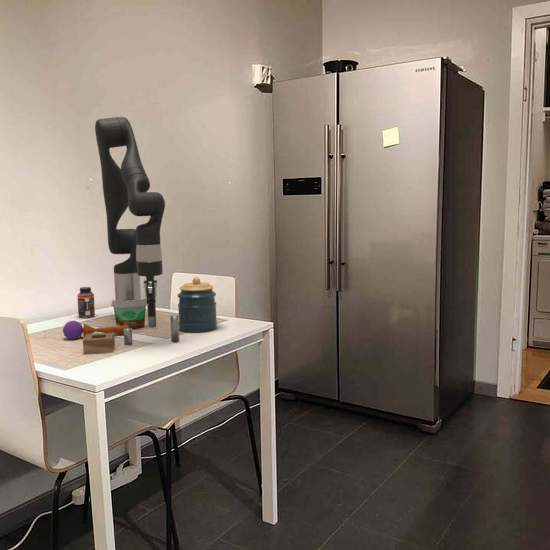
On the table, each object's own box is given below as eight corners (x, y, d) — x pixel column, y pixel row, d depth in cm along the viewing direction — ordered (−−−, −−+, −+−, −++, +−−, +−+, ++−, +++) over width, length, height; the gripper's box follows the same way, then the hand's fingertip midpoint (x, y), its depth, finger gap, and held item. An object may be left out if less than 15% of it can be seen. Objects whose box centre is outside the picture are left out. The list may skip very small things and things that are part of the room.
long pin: (148, 326, 170) (146, 287, 168) (156, 325, 170) (154, 287, 168) (148, 328, 167) (146, 289, 165) (156, 327, 168) (154, 288, 166)
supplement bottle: (92, 318, 207) (90, 288, 205) (76, 318, 206) (74, 288, 205) (97, 315, 213) (95, 286, 211) (81, 315, 212) (79, 286, 211)
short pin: (124, 343, 168) (123, 327, 168) (132, 343, 169) (132, 327, 168) (124, 345, 166) (123, 329, 165) (132, 345, 166) (131, 329, 166)
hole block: (87, 347, 165) (86, 334, 164) (114, 345, 167) (114, 332, 166) (83, 354, 157) (82, 340, 157) (112, 352, 159) (111, 338, 158)
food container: (115, 332, 183) (113, 302, 182) (112, 328, 189) (110, 299, 188) (152, 328, 188) (150, 299, 187) (148, 324, 194) (147, 296, 193)
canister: (182, 334, 179) (180, 280, 177) (175, 326, 191) (173, 275, 189) (221, 331, 183) (219, 278, 181) (212, 323, 195) (211, 273, 193)
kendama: (128, 325, 177) (62, 325, 171) (128, 342, 178) (62, 342, 173) (128, 318, 182) (64, 317, 177) (127, 334, 184) (64, 335, 178)
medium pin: (171, 340, 171) (170, 315, 170) (179, 340, 172) (178, 315, 170) (171, 342, 169) (170, 317, 168) (179, 342, 169) (178, 316, 168)
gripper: (137, 257, 171) (139, 311, 174) (135, 262, 158) (138, 321, 161) (161, 256, 173) (164, 310, 176) (162, 261, 159) (164, 319, 162)
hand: (151, 315), depth 168 cm, fingers closed on long pin, 2 cm apart
